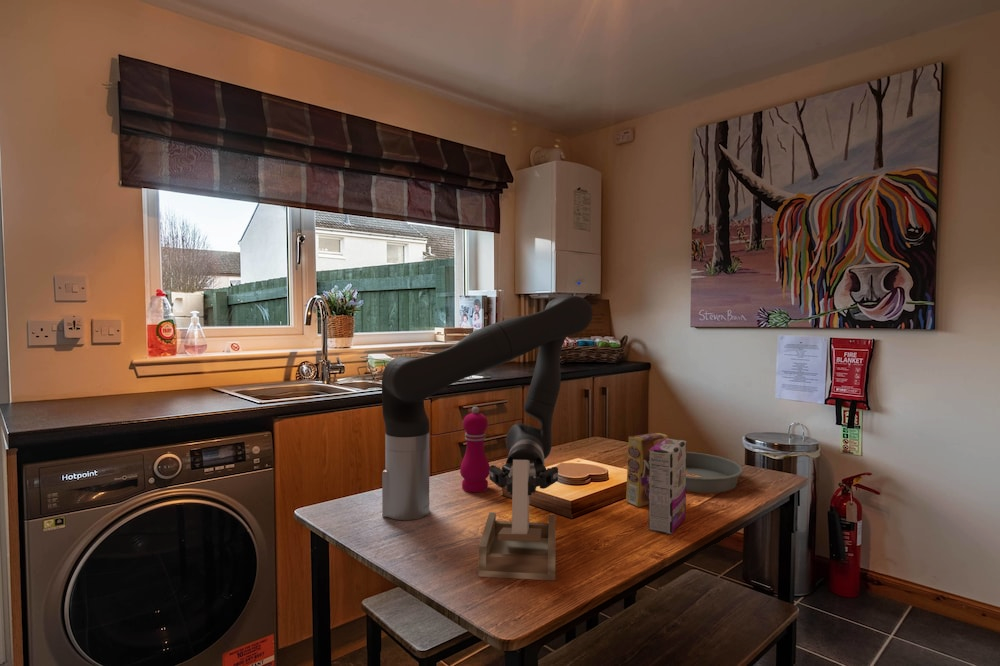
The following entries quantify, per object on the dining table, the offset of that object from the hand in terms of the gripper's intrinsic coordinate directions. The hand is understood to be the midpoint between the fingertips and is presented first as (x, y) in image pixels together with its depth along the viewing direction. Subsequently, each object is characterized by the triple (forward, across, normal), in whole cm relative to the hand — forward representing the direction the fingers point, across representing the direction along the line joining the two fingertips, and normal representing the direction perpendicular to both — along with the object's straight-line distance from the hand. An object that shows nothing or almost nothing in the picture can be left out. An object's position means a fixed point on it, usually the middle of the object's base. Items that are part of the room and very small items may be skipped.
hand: (520, 489), depth 97 cm
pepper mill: (-38, -13, +13) cm, 42 cm away
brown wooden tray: (-1, 0, +12) cm, 12 cm away
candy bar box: (-20, +29, +13) cm, 37 cm away
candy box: (-33, +27, +13) cm, 44 cm away
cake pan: (-51, +41, +14) cm, 67 cm away
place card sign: (+1, 0, +8) cm, 8 cm away
